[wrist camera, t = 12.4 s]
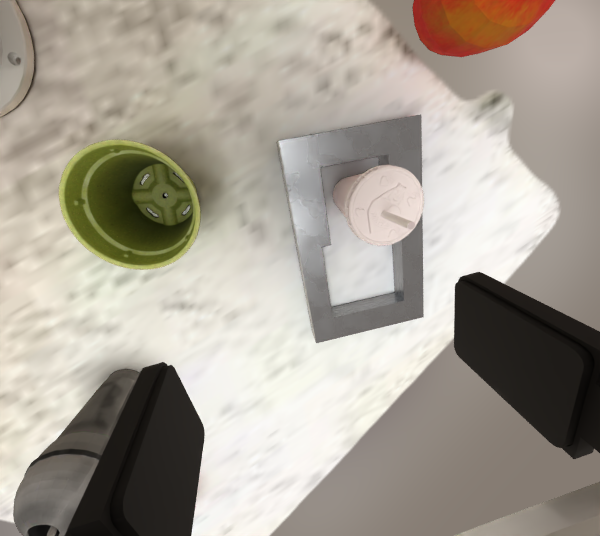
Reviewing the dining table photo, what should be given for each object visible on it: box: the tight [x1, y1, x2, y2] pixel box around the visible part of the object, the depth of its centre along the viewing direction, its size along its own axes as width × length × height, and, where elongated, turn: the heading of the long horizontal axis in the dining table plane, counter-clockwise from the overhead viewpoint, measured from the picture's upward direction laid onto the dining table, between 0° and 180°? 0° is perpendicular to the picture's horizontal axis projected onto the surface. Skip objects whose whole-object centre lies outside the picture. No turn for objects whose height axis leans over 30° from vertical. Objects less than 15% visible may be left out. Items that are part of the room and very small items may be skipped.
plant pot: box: [59, 140, 201, 270], centre depth 25 cm, size 9×9×9 cm
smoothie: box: [333, 165, 424, 246], centre depth 25 cm, size 6×6×14 cm
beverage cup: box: [13, 369, 140, 536], centre depth 26 cm, size 7×7×20 cm
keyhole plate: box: [277, 115, 423, 343], centre depth 32 cm, size 23×14×2 cm, turn 10°
